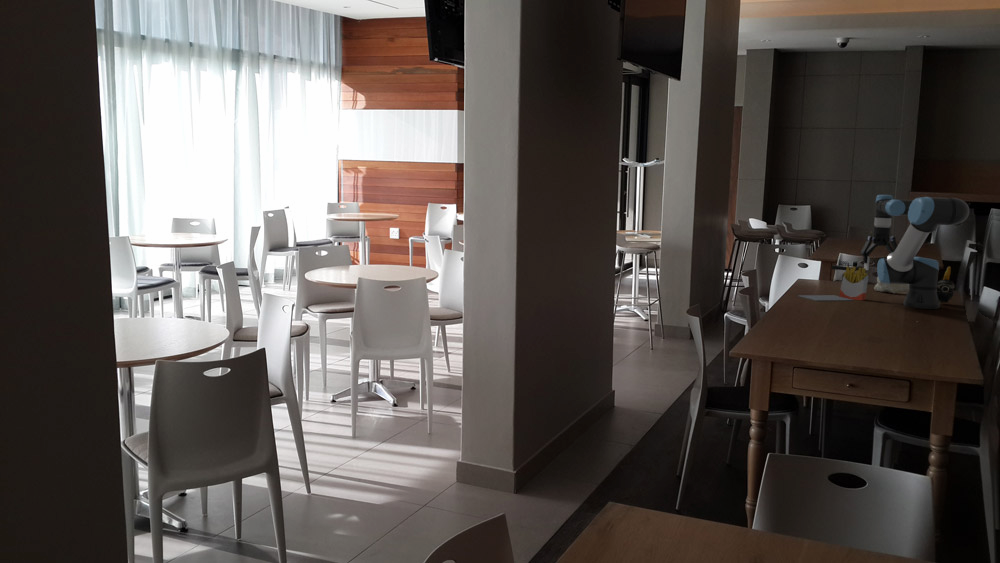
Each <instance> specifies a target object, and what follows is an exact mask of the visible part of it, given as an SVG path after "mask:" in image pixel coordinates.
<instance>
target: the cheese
mask: <svg viewBox="0 0 1000 563" xmlns="http://www.w3.org/2000/svg"><path fill="white" fill-rule="evenodd" d="M876 281H877V283H876V284H875V285H874V287H873V289H874V291H877V292H880V293H892V294H894V295H895V294H897V293H908V290H909V284H887V283H882V282H881V281H880V280H879V278H878V276H877V277H876Z"/></svg>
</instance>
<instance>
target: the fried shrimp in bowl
mask: <svg viewBox="0 0 1000 563" xmlns="http://www.w3.org/2000/svg"><path fill="white" fill-rule="evenodd" d="M951 269H952V268H951V266H947V267H946V271H945V272H944V275H943V278H942V279H941V280H939V281H938V282H937V295H938V299H939V303H941V304H942V303H943V304H946V303H949V301H950V300H951V299H952V298H953V296H954V293H956V292H955V288H956V287H955V286H956V285H955V284H954V282H953V281H951V280H950V276H951V272H952V271H951Z"/></svg>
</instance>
